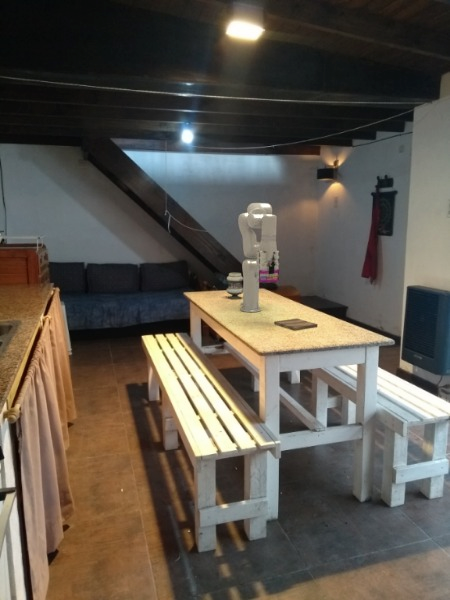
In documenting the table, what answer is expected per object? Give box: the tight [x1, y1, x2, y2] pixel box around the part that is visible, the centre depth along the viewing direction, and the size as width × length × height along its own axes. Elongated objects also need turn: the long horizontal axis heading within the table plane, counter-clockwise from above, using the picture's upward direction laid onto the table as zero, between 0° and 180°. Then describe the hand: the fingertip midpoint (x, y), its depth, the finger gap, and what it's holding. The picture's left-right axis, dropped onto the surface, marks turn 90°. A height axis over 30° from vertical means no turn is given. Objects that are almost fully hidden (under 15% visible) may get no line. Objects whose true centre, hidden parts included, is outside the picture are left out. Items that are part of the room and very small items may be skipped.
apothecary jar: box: [226, 272, 243, 301], centre depth 312 cm, size 12×12×18 cm
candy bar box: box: [255, 250, 280, 284], centre depth 232 cm, size 11×5×16 cm, turn 105°
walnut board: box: [273, 317, 318, 331], centre depth 234 cm, size 16×16×2 cm
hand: (267, 272), depth 232 cm, fingers closed on candy bar box, 6 cm apart
